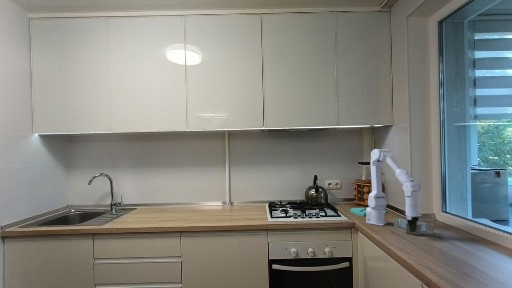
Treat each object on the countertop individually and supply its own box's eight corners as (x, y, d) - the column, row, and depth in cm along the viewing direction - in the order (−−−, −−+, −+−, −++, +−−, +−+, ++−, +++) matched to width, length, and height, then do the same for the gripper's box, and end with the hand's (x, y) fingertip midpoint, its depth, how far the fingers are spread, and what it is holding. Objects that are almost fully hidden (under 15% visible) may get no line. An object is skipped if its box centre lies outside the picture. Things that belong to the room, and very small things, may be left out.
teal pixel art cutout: (386, 213, 186) (356, 209, 199) (386, 210, 186) (356, 206, 199) (377, 219, 171) (346, 214, 184) (377, 215, 171) (346, 211, 184)
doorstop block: (406, 232, 140) (406, 223, 141) (408, 231, 144) (408, 221, 145) (419, 235, 136) (419, 225, 137) (421, 233, 140) (421, 223, 141)
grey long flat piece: (393, 226, 153) (393, 218, 153) (394, 226, 154) (394, 218, 154) (433, 233, 140) (433, 224, 140) (433, 233, 141) (433, 224, 141)
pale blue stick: (400, 227, 151) (400, 219, 151) (401, 226, 151) (401, 219, 151) (425, 231, 143) (425, 223, 143) (426, 231, 143) (426, 223, 143)
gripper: (417, 207, 130) (418, 236, 130) (423, 203, 141) (424, 230, 141) (401, 206, 135) (402, 233, 135) (408, 202, 146) (409, 227, 145)
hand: (412, 231), depth 138 cm, fingers closed, pressing on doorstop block
